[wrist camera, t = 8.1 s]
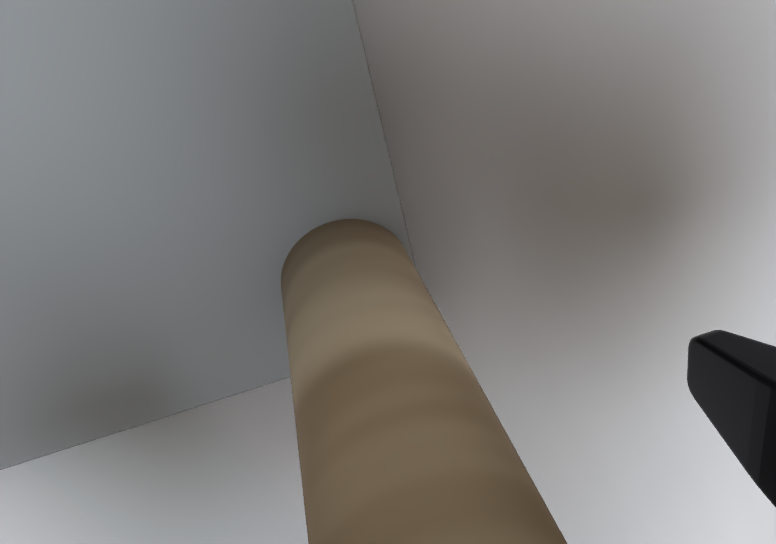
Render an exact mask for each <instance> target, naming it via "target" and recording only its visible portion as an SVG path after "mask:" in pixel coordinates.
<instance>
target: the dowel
mask: <svg viewBox="0 0 776 544" xmlns="http://www.w3.org/2000/svg"><path fill="white" fill-rule="evenodd" d="M281 291H282V300H283V310H284V319H285V328H286V338H287V347H288V356H289V366H290V375H291V384H292V394H293V403H294V412H295V422H296V431H297V440H298V450H299V459H300V468H301V477H302V487H303V496H304V505H305V515H306V524H307V533H308V543H309V544H567V542H566V541H565V539H564V537H563V535H562V533H561V531H560V530H559V528H558V526H557V524H556V522H555V521H554V519H553V517H552V515H551V513H550V511H549V510H548V508H547V506H546V504H545V502H544V501H543V499H542V497H541V495H540V493H539V492H538V490H537V488H536V486H535V484H534V482H533V481H532V479H531V477H530V475H529V473H528V472H527V470H526V468H525V466H524V464H523V462H522V461H521V459H520V457H519V455H518V453H517V452H516V450H515V448H514V446H513V444H512V442H511V441H510V439H509V437H508V435H507V433H506V432H505V430H504V428H503V426H502V424H501V422H500V421H499V419H498V417H497V415H496V413H495V412H494V410H493V408H492V406H491V404H490V403H489V401H488V399H487V397H486V395H485V393H484V392H483V390H482V388H481V386H480V384H479V383H478V381H477V379H476V377H475V375H474V373H473V372H472V370H471V368H470V366H469V364H468V363H467V361H466V359H465V357H464V355H463V353H462V352H461V350H460V348H459V346H458V344H457V343H456V341H455V339H454V337H453V335H452V334H451V332H450V330H449V328H448V326H447V324H446V323H445V321H444V319H443V317H442V315H441V314H440V312H439V310H438V308H437V306H436V304H435V303H434V301H433V299H432V297H431V295H430V294H429V292H428V290H427V288H426V286H425V284H424V283H423V281H422V279H421V277H420V275H419V274H418V272H417V270H416V268H415V266H414V264H413V263H412V261H411V259H410V257H409V255H408V254H407V252H406V250H405V248H404V246H403V245H402V244H401V242H400V241H399V240H398V238H397V237H396V236H395V235H394V234H392V233H391V232H390V231H389V230H387V229H386V228H384V227H382V226H380V225H378V224H375V223H373V222H369V221H366V220H359V219H342V220H336V221H332V222H328V223H325V224H323V225H320V226H318V227H316V228H314V229H313V230H311V231H310V232H308V233H307V234H305V235H304V236H303V237H302V238H301V239H300V240H298V242H297V243H296V244H295V245H294V246H293V247H292V249H291V250H290V252H289V253H288V255H287V257H286V260H285V262H284V265H283V268H282V273H281Z"/></svg>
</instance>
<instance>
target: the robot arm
mask: <svg viewBox="0 0 776 544" xmlns="http://www.w3.org/2000/svg"><path fill="white" fill-rule="evenodd" d="M687 382H688V387H689V389H690V392H691V394H692V395H693V397H694V399H695V400H696V401H697V403H698V404H699V406H700V407H701V408H702V410H703V411H704V413H705V414H706V415H707V417H708V418H709V420H710V421H711V422H712V424H713V425H714V427H715V428H716V429H717V431H718V432H719V434H720V435H721V436H722V438H723V439H724V441H725V442H726V443H727V445H728V446H729V448H730V449H731V450H732V452H733V453H734V455H735V456H736V457H737V459H738V460H739V462H740V463H741V464H742V466H743V467H744V469H745V470H746V471H747V473H748V474H749V475H750V477H751V478H752V479H753V481H754V482H755V483H756V485H757V486H758V487H759V488H760V489H761V491H762V492H763V493H764V494H765V495H766V497H767V498H768V499H769V500H770V501H771V502H772V504H773V505H774V506H775V507H776V347H775V346H772V345H768V344H765V343H762V342H759V341H756V340H752V339H749V338H746V337H743V336H739V335H736V334H733V333H730V332H726V331H723V330H714V331H711V332H708V333H705V334H702V335H699V336H696V337H694V338H692V339H691V341H690V343H689V347H688V370H687Z"/></svg>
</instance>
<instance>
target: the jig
mask: <svg viewBox="0 0 776 544" xmlns="http://www.w3.org/2000/svg"><path fill="white" fill-rule="evenodd" d="M342 219H359V220H366V221H369V222H373V223H375V224H378V225H380V226H382V227H384V228H386V229H387V230H389V231H390V232H391V233H392V234H394V235H395V236H396V237H397V238H398V240H399V241H400V242H401V244H402V245H403V246H404V248H405V250H406V252H407V254H408V255H409V257H410V259H411V261H412V263H413V264H414V266H415V263H414V258H413V254H412V250H411V246H410V241H409V237H408V233H407V229H406V225H405V220H404V216H403V212H402V208H401V203H400V199H399V195H398V191H397V187H396V182H395V178H394V174H393V170H392V165H391V161H390V157H389V153H388V149H387V144H386V140H385V136H384V132H383V127H382V123H381V119H380V115H379V111H378V106H377V102H376V98H375V94H374V89H373V85H372V81H371V77H370V73H369V68H368V64H367V60H366V56H365V52H364V47H363V43H362V39H361V35H360V30H359V26H358V22H357V18H356V14H355V9H354V5H353V1H352V0H0V470H2V469H5V468H8V467H11V466H14V465H17V464H20V463H23V462H27V461H30V460H33V459H36V458H39V457H42V456H45V455H48V454H52V453H55V452H58V451H61V450H64V449H67V448H70V447H73V446H76V445H80V444H83V443H86V442H89V441H92V440H95V439H98V438H101V437H105V436H108V435H111V434H114V433H117V432H120V431H123V430H126V429H129V428H133V427H136V426H139V425H142V424H145V423H148V422H151V421H154V420H158V419H161V418H164V417H167V416H170V415H173V414H176V413H179V412H183V411H186V410H189V409H192V408H195V407H198V406H201V405H204V404H207V403H211V402H214V401H217V400H220V399H223V398H226V397H229V396H232V395H236V394H239V393H242V392H245V391H248V390H251V389H254V388H257V387H260V386H264V385H267V384H270V383H273V382H276V381H279V380H282V379H285V378H289V377H291V375H290V366H289V356H288V347H287V338H286V328H285V319H284V310H283V300H282V291H281V273H282V268H283V265H284V262H285V260H286V257H287V255H288V253H289V252H290V250H291V249H292V247H293V246H294V245H295V244H296V243H297V242H298V240H300V239H301V238H302V237H303V236H304V235H305V234H307V233H308V232H310V231H311V230H313V229H314V228H316V227H318V226H320V225H323V224H325V223H328V222H332V221H336V220H342ZM415 268H416V267H415Z"/></svg>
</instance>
